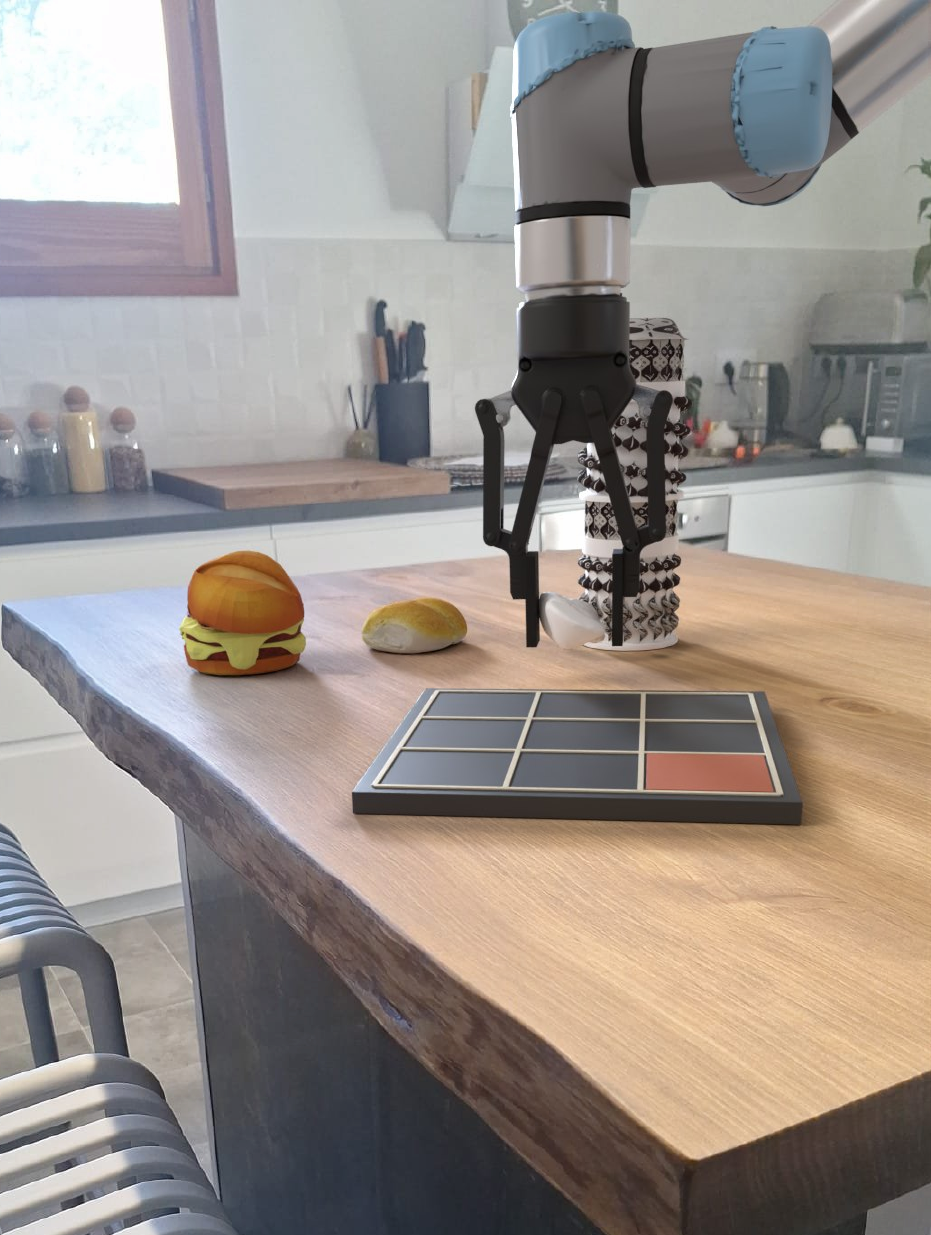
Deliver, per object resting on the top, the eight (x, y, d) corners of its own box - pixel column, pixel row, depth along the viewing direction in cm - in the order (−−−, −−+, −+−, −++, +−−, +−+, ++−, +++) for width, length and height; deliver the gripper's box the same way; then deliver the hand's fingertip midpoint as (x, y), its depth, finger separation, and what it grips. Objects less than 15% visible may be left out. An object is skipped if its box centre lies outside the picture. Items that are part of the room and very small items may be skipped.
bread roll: (480, 637, 108) (479, 591, 106) (431, 658, 101) (430, 608, 99) (398, 630, 112) (397, 586, 110) (345, 650, 104) (343, 602, 103)
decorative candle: (631, 625, 111) (640, 322, 101) (705, 641, 103) (721, 316, 94) (551, 639, 106) (552, 322, 97) (622, 656, 99) (631, 316, 90)
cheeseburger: (283, 644, 106) (285, 532, 101) (327, 699, 99) (332, 580, 93) (167, 656, 102) (163, 539, 97) (203, 714, 95) (201, 591, 89)
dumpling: (527, 644, 94) (535, 591, 93) (594, 654, 94) (602, 601, 93) (541, 645, 87) (549, 588, 86) (613, 655, 87) (622, 598, 86)
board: (763, 708, 83) (764, 689, 82) (800, 825, 62) (803, 800, 61) (426, 704, 86) (425, 686, 86) (352, 813, 65) (351, 790, 65)
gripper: (712, 291, 84) (701, 631, 92) (444, 306, 87) (458, 635, 95) (717, 283, 77) (705, 652, 86) (426, 301, 80) (443, 655, 89)
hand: (575, 642), depth 90 cm, fingers closed on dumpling, 5 cm apart
